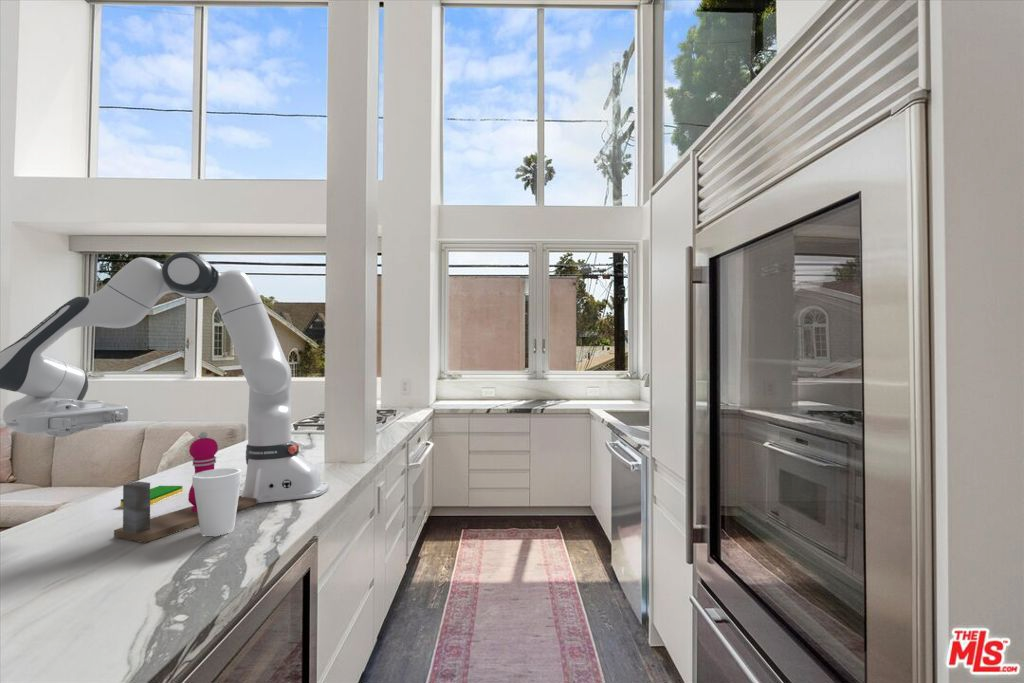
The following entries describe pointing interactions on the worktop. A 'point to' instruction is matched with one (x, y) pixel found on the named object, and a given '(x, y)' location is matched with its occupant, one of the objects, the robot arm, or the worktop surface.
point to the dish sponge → (162, 493)
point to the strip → (148, 529)
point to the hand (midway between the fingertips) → (97, 420)
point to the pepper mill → (202, 460)
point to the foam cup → (217, 499)
